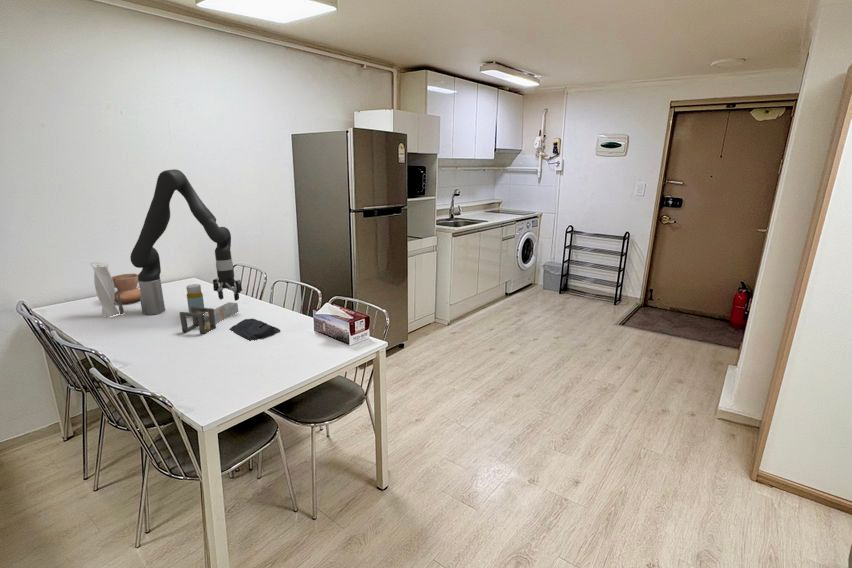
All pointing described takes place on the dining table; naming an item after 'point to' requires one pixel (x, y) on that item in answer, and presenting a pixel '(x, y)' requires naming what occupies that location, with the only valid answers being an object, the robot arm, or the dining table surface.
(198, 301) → the bottle
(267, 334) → the dark slate chunk
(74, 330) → the dining table surface
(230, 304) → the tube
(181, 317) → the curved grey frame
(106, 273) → the skyscraper
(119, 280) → the ceramic jug
